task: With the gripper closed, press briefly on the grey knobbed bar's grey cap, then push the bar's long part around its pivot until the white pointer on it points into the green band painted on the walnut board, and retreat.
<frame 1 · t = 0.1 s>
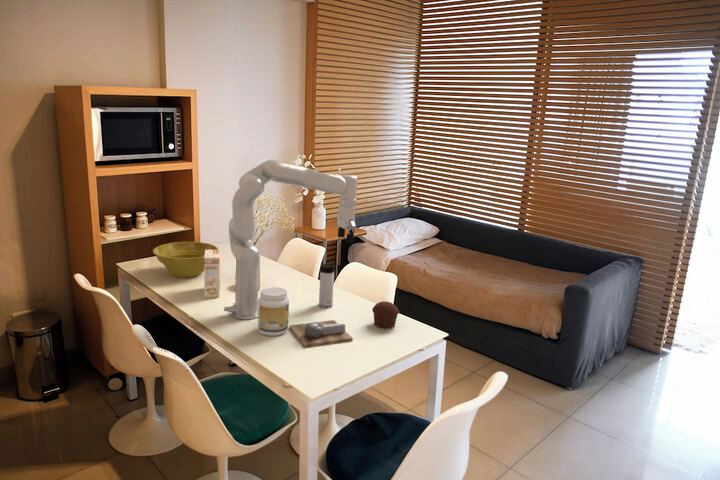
hand: (345, 239, 240), 31 cm above the table, fingers open, 9 cm apart
supplement tub: (272, 331, 213), on the table
board: (320, 334, 212), on the table
grey knobbed bar: (325, 328, 209), point 4 cm above the table, hinge at 0.0°
planter bowl: (186, 274, 276), on the table
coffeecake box: (212, 293, 251), on the table
muffin: (384, 325, 226), on the table
travel mug: (325, 306, 244), on the table
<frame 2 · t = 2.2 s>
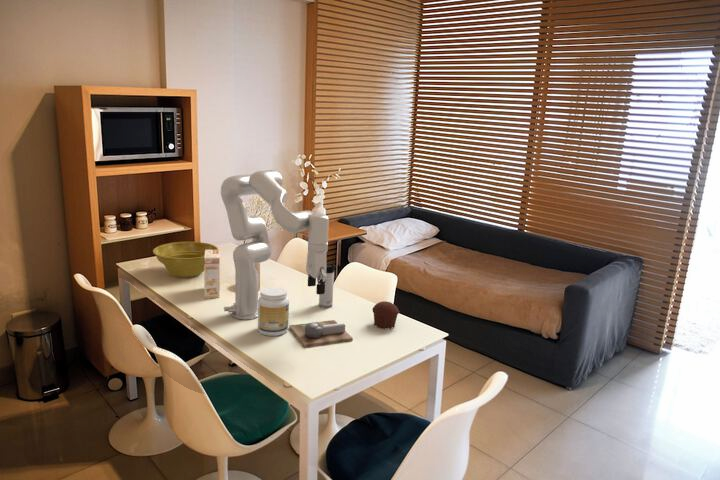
hand: (316, 289, 203), 20 cm above the table, fingers open, 9 cm apart
nothing on the table moved.
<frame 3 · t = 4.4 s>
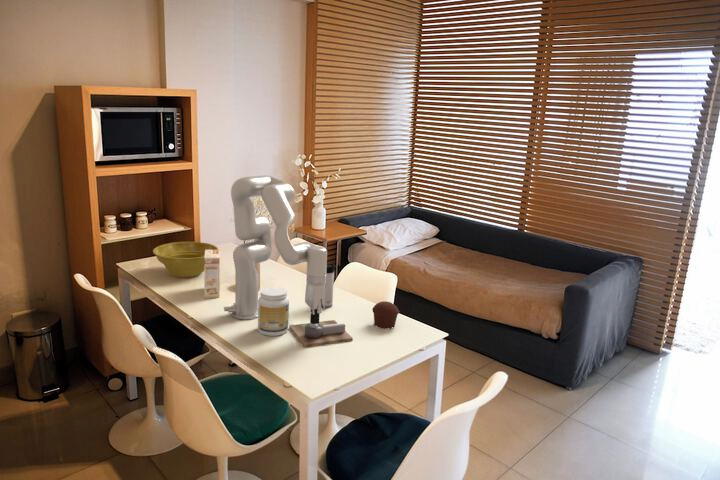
hand: (314, 323, 206), 7 cm above the table, fingers closed
nothing on the table moved.
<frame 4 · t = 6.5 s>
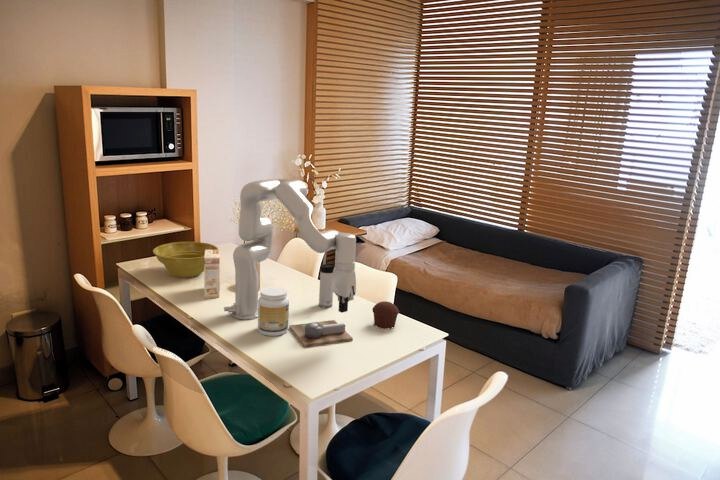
hand: (343, 311, 204), 13 cm above the table, fingers closed
nothing on the table moved.
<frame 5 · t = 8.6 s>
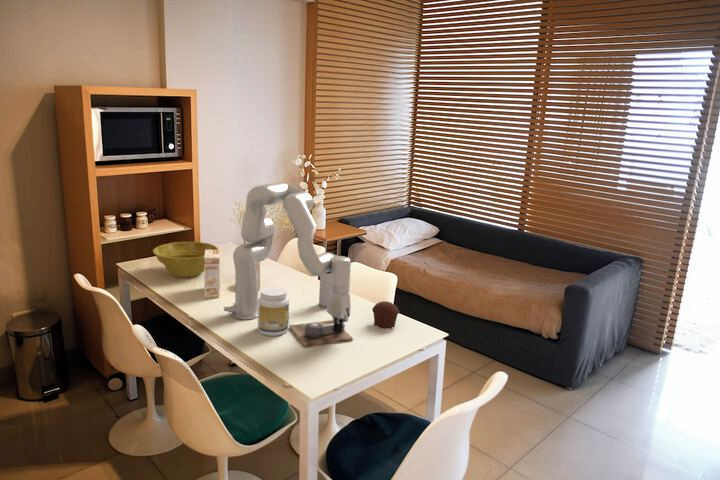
hand: (337, 331, 209), 3 cm above the table, fingers closed
grey knobbed bar: (324, 328, 210), point 4 cm above the table, hinge at 3.3°, touching gripper
everything else where it was.
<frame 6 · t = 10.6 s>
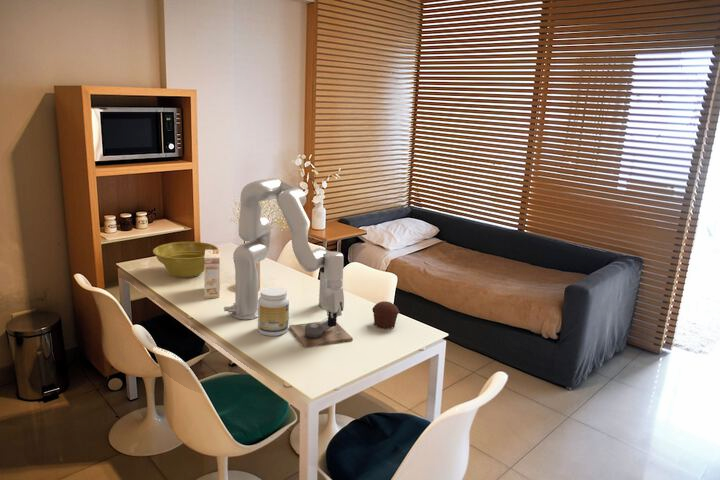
hand: (332, 325, 214), 3 cm above the table, fingers closed
grey knobbed bar: (320, 325, 211), point 4 cm above the table, hinge at 36.8°, touching gripper
everything else where it was.
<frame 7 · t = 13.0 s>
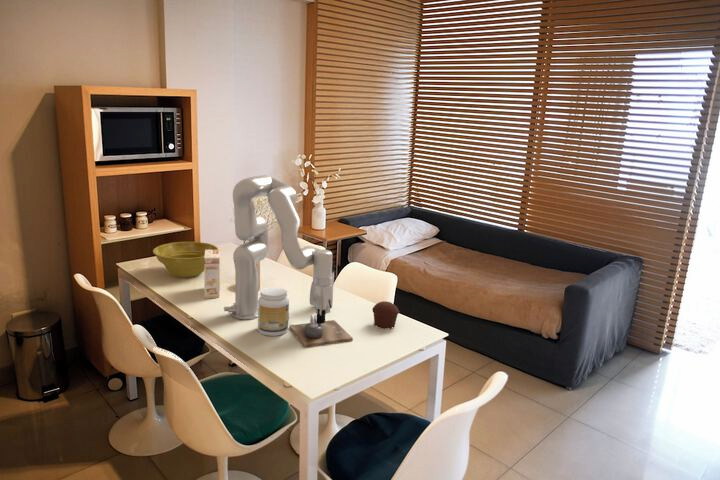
hand: (320, 322, 216), 3 cm above the table, fingers closed
grey knobbed bar: (313, 324, 212), point 4 cm above the table, hinge at 71.3°
everything else where it was.
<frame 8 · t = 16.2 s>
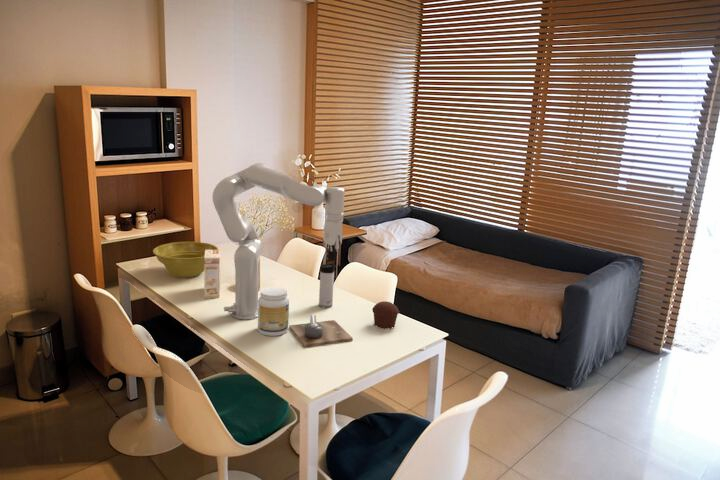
hand: (331, 259, 221), 27 cm above the table, fingers closed
nothing on the table moved.
at the end: grey knobbed bar at +71° (first picture: +0°) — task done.
